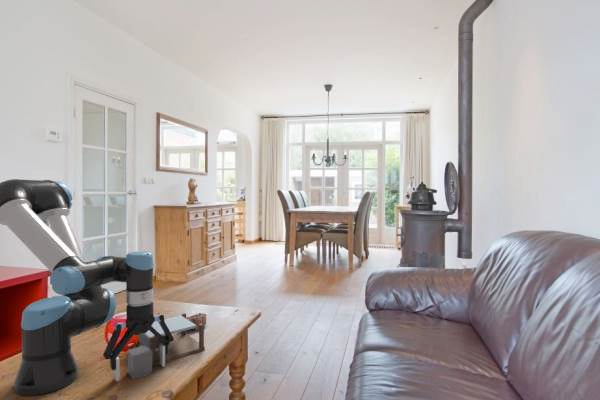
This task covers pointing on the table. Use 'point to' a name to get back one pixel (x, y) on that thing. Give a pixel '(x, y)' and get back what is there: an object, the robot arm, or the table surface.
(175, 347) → the frame
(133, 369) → the block
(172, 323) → the trapdoor
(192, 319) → the mineral specimen
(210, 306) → the table surface
